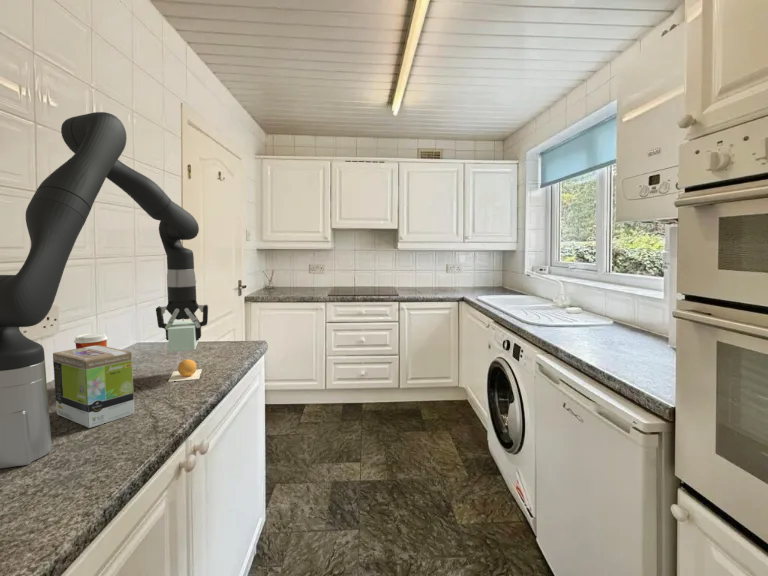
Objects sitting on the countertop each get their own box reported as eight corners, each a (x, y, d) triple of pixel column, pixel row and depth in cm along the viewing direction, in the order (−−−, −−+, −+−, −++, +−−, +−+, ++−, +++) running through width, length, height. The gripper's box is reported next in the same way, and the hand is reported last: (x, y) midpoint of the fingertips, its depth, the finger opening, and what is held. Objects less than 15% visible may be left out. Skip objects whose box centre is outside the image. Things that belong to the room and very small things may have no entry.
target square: (199, 379, 121) (199, 378, 121) (168, 382, 119) (168, 381, 119) (201, 369, 131) (201, 369, 131) (173, 372, 128) (173, 371, 128)
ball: (198, 369, 128) (196, 378, 124) (181, 371, 127) (177, 380, 122) (196, 355, 126) (193, 364, 122) (178, 357, 125) (175, 366, 120)
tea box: (136, 413, 97) (133, 350, 95) (88, 430, 88) (83, 361, 87) (102, 401, 104) (98, 342, 103) (55, 415, 96) (50, 351, 94)
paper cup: (93, 390, 112) (90, 338, 111) (69, 388, 113) (66, 337, 112) (117, 381, 120) (114, 332, 118) (95, 379, 121) (91, 331, 120)
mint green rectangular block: (194, 350, 120) (193, 327, 119) (168, 352, 118) (167, 328, 117) (198, 341, 131) (197, 320, 130) (174, 342, 128) (173, 321, 128)
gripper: (151, 286, 116) (154, 345, 118) (207, 285, 121) (209, 341, 123) (156, 284, 123) (159, 339, 125) (209, 282, 128) (211, 336, 130)
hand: (184, 340), depth 124 cm, fingers closed on mint green rectangular block, 6 cm apart
